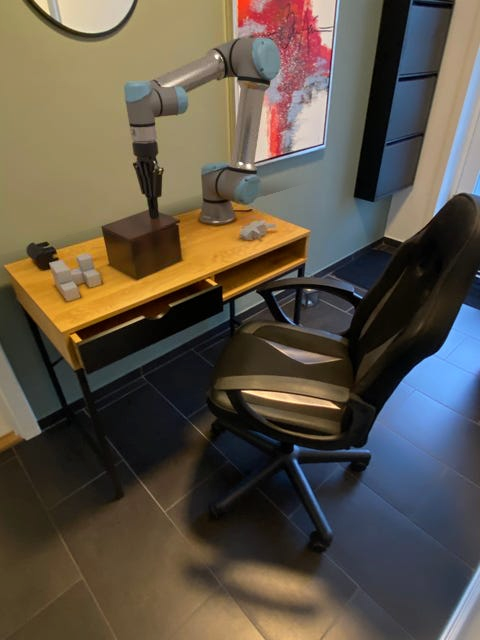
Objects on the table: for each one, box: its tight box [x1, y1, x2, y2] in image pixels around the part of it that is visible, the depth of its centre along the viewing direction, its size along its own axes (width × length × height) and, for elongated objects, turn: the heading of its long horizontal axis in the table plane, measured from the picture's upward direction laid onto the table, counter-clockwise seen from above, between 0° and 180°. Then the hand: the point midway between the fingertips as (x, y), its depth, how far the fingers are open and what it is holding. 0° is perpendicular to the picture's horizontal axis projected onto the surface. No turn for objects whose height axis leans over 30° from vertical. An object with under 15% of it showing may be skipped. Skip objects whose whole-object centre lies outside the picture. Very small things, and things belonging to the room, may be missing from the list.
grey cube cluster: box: [49, 252, 103, 302], centre depth 121 cm, size 12×12×8 cm
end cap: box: [25, 241, 60, 270], centre depth 135 cm, size 10×7×7 cm
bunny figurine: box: [238, 218, 277, 242], centre depth 155 cm, size 10×5×15 cm
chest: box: [101, 223, 183, 281], centre depth 134 cm, size 19×16×13 cm
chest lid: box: [100, 209, 181, 242], centre depth 130 cm, size 20×16×1 cm
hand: (154, 216), depth 133 cm, fingers closed
